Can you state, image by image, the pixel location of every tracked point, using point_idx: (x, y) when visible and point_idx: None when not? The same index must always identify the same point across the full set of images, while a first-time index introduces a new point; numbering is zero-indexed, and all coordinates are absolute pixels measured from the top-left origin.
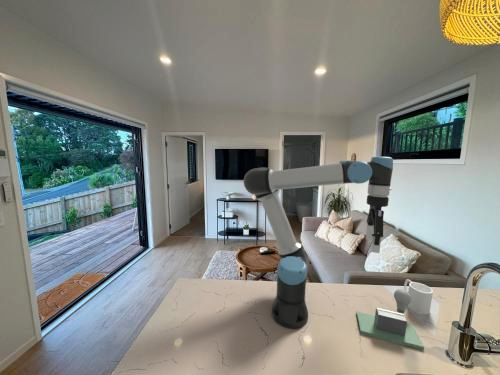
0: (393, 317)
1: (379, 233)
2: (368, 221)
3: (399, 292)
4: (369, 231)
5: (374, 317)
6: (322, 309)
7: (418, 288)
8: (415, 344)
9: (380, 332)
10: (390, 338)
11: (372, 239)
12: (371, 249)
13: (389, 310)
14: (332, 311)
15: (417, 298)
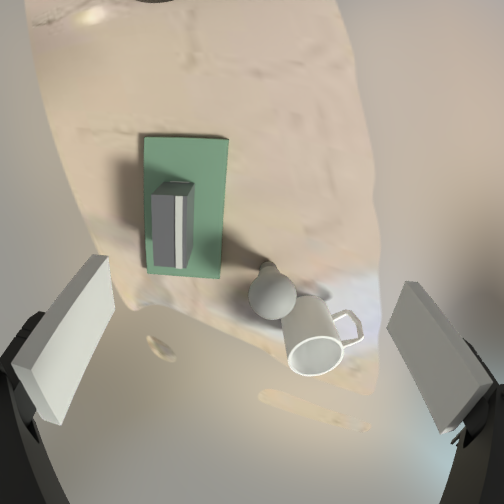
0: (155, 234)
1: (37, 440)
2: (500, 435)
3: (266, 294)
4: (435, 357)
5: (214, 188)
6: (219, 37)
7: (334, 348)
8: (147, 258)
9: (155, 188)
10: (144, 208)
11: (48, 329)
12: (86, 265)
13: (186, 234)
14: (218, 66)
15: (291, 330)
